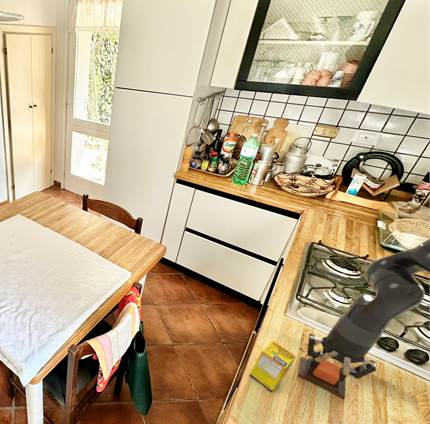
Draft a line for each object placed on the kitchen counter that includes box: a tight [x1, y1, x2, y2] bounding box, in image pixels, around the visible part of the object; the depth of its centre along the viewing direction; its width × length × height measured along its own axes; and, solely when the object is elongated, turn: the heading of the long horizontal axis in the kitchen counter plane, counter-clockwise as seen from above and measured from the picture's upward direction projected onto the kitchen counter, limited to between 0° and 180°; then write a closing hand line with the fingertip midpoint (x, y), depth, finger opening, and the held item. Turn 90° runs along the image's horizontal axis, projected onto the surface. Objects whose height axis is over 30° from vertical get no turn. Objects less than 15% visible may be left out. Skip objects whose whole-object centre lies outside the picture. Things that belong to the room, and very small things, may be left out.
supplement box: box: [249, 340, 297, 393], centre depth 82 cm, size 6×6×11 cm
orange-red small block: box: [313, 359, 341, 385], centre depth 83 cm, size 5×5×3 cm
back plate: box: [297, 356, 346, 400], centre depth 85 cm, size 10×7×2 cm
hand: (324, 373), depth 84 cm, fingers closed on orange-red small block, 4 cm apart
